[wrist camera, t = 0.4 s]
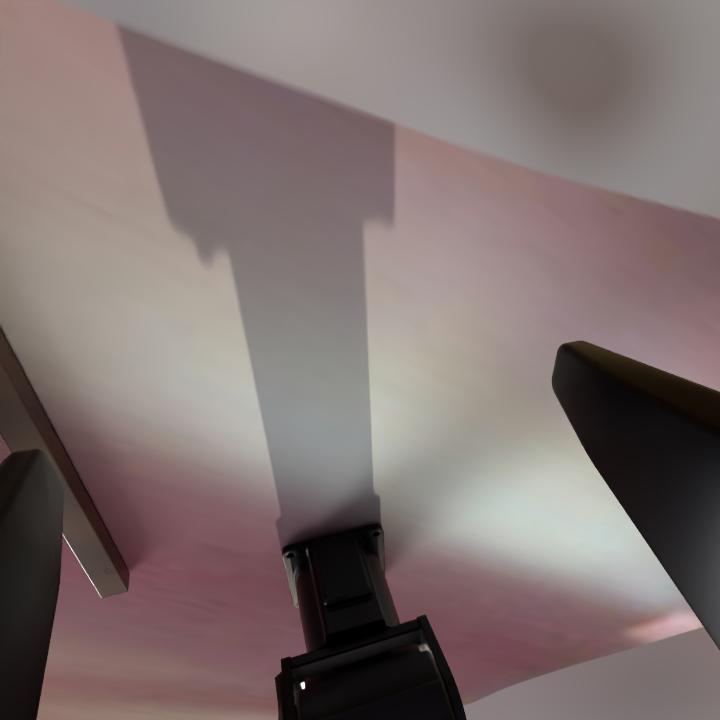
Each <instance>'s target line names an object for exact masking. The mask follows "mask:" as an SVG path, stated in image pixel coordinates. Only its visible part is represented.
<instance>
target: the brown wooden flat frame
mask: <svg viewBox="0 0 720 720" xmlns="http://www.w3.org/2000/svg"><path fill="white" fill-rule="evenodd" d="M0 434H1V436H2V437H3V439H4V440H5V442H6V444H7V445H8V447H9V449H10V450H11V452H12V453H14V452H17V451H22V450H27V449H32V448H40V449H42V450H44V451H45V453H46V454H47V456H48V458H49V460H50V462H51V463H52V465H53V467H54V469H55V471H56V473H57V474H58V476H59V478H60V480H61V482H62V485H63V489H64V513H63V534H62V535H63V537H64V538H65V540H66V542H67V543H68V545H69V546H70V548H71V550H72V551H73V553H74V555H75V556H76V558H77V560H78V561H79V563H80V564H81V566H82V568H83V569H84V571H85V573H86V574H87V576H88V577H89V579H90V581H91V582H92V584H93V586H94V587H95V589H96V591H97V592H98V594H99V595H100V597H101V598H104V597H108V596H112V595H116V594H120V593H124V592H127V591H128V586H129V575H130V574H129V572H128V570H127V568H126V566H125V564H124V562H123V561H122V559H121V557H120V555H119V553H118V551H117V549H116V547H115V545H114V544H113V542H112V540H111V538H110V536H109V534H108V532H107V530H106V528H105V527H104V525H103V523H102V521H101V519H100V517H99V515H98V513H97V511H96V510H95V508H94V506H93V504H92V502H91V500H90V498H89V496H88V494H87V493H86V491H85V489H84V487H83V485H82V483H81V481H80V479H79V477H78V476H77V474H76V472H75V470H74V468H73V466H72V464H71V462H70V460H69V459H68V457H67V455H66V453H65V451H64V449H63V447H62V445H61V444H60V442H59V440H58V438H57V436H56V434H55V432H54V430H53V428H52V427H51V425H50V423H49V421H48V419H47V417H46V415H45V413H44V411H43V410H42V408H41V406H40V404H39V402H38V400H37V398H36V396H35V394H34V393H33V391H32V389H31V387H30V385H29V383H28V381H27V379H26V377H25V376H24V374H23V372H22V370H21V368H20V366H19V364H18V362H17V360H16V359H15V357H14V355H13V353H12V351H11V349H10V347H9V345H8V343H7V342H6V340H5V338H4V336H3V334H2V332H1V330H0Z"/></svg>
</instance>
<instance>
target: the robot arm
mask: <svg viewBox="0 0 720 720" xmlns="http://www.w3.org/2000/svg"><path fill="white" fill-rule="evenodd" d="M552 387H553V390H554V393H555V395H556V397H557V398H558V400H559V402H560V404H561V406H562V408H563V410H564V412H565V414H566V415H567V417H568V419H569V421H570V423H571V425H572V427H573V429H574V431H575V432H576V434H577V436H578V438H579V440H580V442H581V444H582V446H583V447H584V449H585V451H586V453H587V454H588V456H589V458H590V459H591V461H592V462H593V464H594V466H595V467H596V469H597V470H598V472H599V473H600V475H601V476H602V477H603V479H604V480H605V482H606V483H607V485H608V486H609V488H610V489H611V491H612V492H613V494H614V495H615V497H616V498H617V500H618V501H619V503H620V504H621V505H622V507H623V508H624V510H625V511H626V513H627V514H628V516H629V517H630V519H631V520H632V522H633V523H634V525H635V526H636V528H637V529H638V531H639V532H640V533H641V535H642V536H643V538H644V539H645V541H646V542H647V544H648V545H649V547H650V548H651V550H652V551H653V553H654V554H655V556H656V557H657V559H658V560H659V561H660V563H661V564H662V566H663V567H664V569H665V570H666V572H667V573H668V575H669V576H670V578H671V579H672V581H673V582H674V584H675V585H676V587H677V588H678V589H679V591H680V592H681V594H682V595H683V597H684V598H685V600H686V601H687V603H688V604H689V606H690V607H691V609H692V610H693V612H694V613H695V615H696V616H697V617H698V619H699V620H700V622H701V623H702V625H703V626H704V628H705V629H706V631H707V632H708V633H709V635H710V637H711V638H712V640H713V641H714V642H715V644H716V645H717V647H718V648H719V650H720V392H719V391H716V390H713V389H711V388H708V387H705V386H703V385H700V384H697V383H694V382H692V381H689V380H686V379H684V378H681V377H678V376H676V375H673V374H670V373H668V372H665V371H662V370H660V369H657V368H654V367H652V366H649V365H646V364H644V363H641V362H638V361H636V360H633V359H630V358H628V357H625V356H622V355H620V354H617V353H614V352H612V351H609V350H606V349H604V348H601V347H598V346H596V345H593V344H590V343H588V342H585V341H575V342H570V343H565V344H562V345H561V346H560V347H559V349H558V351H557V355H556V360H555V365H554V370H553V375H552ZM63 513H64V489H63V485H62V482H61V480H60V478H59V476H58V474H57V473H56V471H55V469H54V467H53V465H52V463H51V462H50V460H49V458H48V456H47V454H46V453H45V451H44V450H42V449H40V448H32V449H27V450H22V451H17V452H14V453H12V454H10V455H9V456H8V457H7V458H5V459H4V460H3V461H2V462H1V463H0V720H36V719H37V713H38V707H39V702H40V696H41V690H42V684H43V679H44V673H45V667H46V662H47V656H48V650H49V644H50V639H51V633H52V627H53V622H54V616H55V610H56V604H57V599H58V592H59V585H60V573H61V555H62V534H63ZM282 557H283V561H284V566H285V570H286V574H287V579H288V583H289V588H290V592H291V596H292V601H293V605H294V606H295V607H299V610H300V615H301V621H302V627H303V632H304V638H305V644H306V650H307V653H305V654H302V655H299V656H295V657H292V658H291V657H290V656H289V657H286V658H283V659H281V668H282V672H281V673H280V674H278V675H277V676H276V677H275V683H276V691H277V699H278V713H279V717H278V720H466V715H465V712H464V708H463V704H462V701H461V698H460V694H459V691H458V688H457V686H456V683H455V680H454V678H453V675H452V673H451V670H450V668H449V666H448V664H447V661H446V659H445V657H444V655H443V652H442V650H441V648H440V646H439V643H438V641H437V639H436V637H435V634H434V632H433V630H432V628H431V626H430V623H429V621H428V619H427V617H426V615H422V616H419V617H417V619H415V620H412V621H408V622H405V623H402V624H400V621H399V618H398V615H397V612H396V609H395V606H394V602H393V599H392V596H391V593H390V590H389V587H388V584H387V581H386V578H385V555H384V532H383V529H382V526H381V525H380V524H373V525H369V526H365V527H361V528H357V529H353V530H349V531H345V532H340V533H336V534H332V535H328V536H324V537H320V538H316V539H312V540H308V541H304V542H300V543H296V544H292V545H288V546H286V547H284V548H283V549H282Z"/></svg>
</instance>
